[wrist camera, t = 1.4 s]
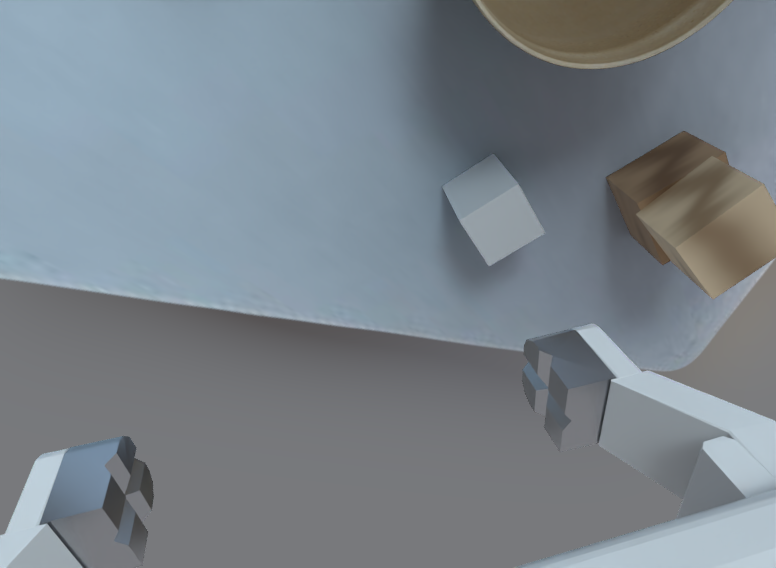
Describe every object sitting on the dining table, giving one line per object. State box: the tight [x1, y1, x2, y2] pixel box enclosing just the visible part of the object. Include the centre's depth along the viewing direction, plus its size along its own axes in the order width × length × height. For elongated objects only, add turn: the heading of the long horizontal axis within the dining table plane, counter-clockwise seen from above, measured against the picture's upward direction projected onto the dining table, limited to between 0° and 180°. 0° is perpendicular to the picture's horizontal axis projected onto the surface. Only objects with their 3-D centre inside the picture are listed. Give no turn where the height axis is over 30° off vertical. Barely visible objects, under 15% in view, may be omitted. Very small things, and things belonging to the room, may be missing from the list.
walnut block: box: [606, 131, 729, 265], centre depth 40 cm, size 6×6×5 cm
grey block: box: [442, 153, 545, 266], centre depth 38 cm, size 4×4×6 cm
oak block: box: [636, 156, 776, 299], centre depth 36 cm, size 6×6×5 cm
